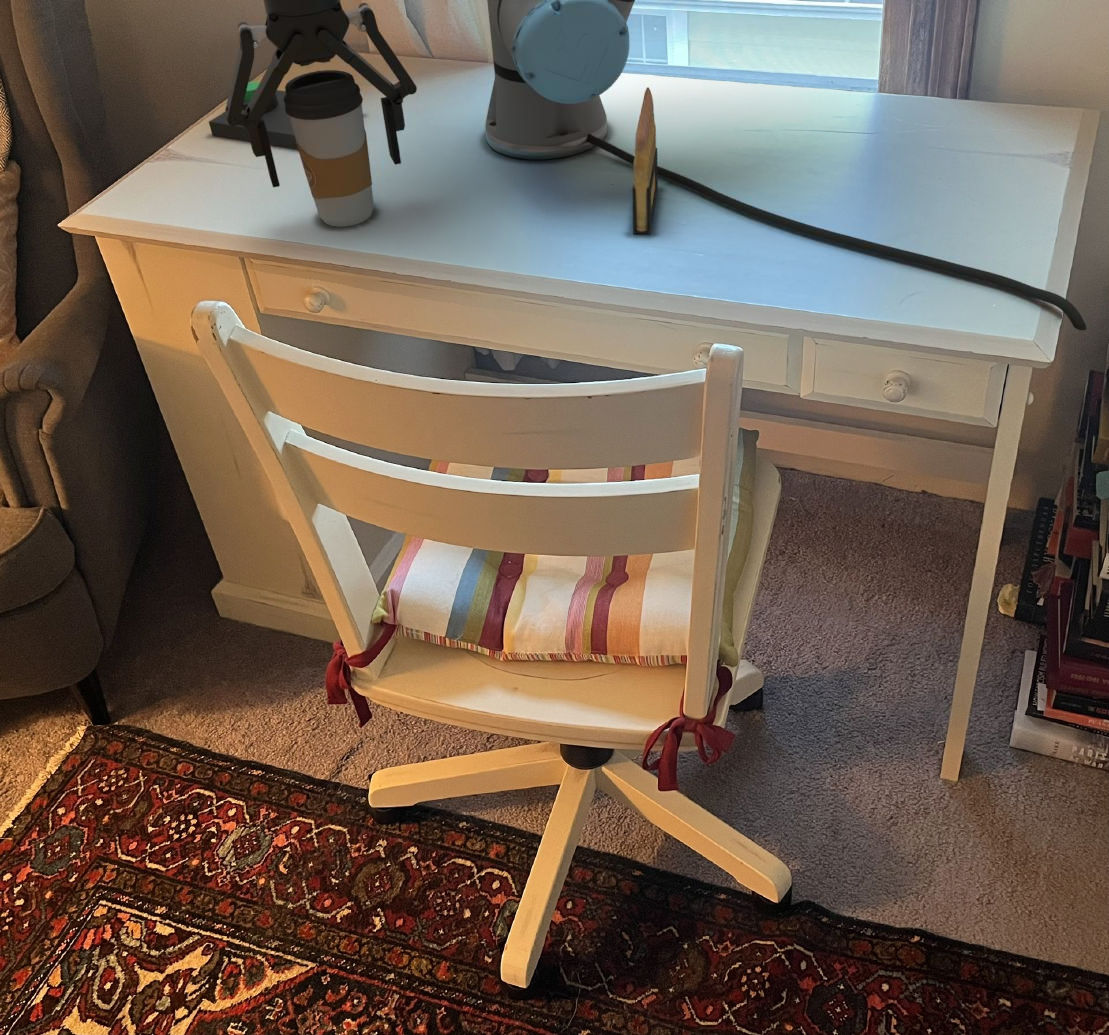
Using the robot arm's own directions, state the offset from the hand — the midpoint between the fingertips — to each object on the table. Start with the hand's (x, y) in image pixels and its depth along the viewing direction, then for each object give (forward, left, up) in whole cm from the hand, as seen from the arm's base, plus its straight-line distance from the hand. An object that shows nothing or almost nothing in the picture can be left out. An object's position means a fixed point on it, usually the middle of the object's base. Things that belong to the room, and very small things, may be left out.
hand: (336, 171), depth 121 cm
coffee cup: (0, 0, -6) cm, 6 cm away
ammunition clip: (-32, -12, -6) cm, 35 cm away
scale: (+23, -19, -5) cm, 30 cm away
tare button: (+28, -19, -2) cm, 34 cm away
